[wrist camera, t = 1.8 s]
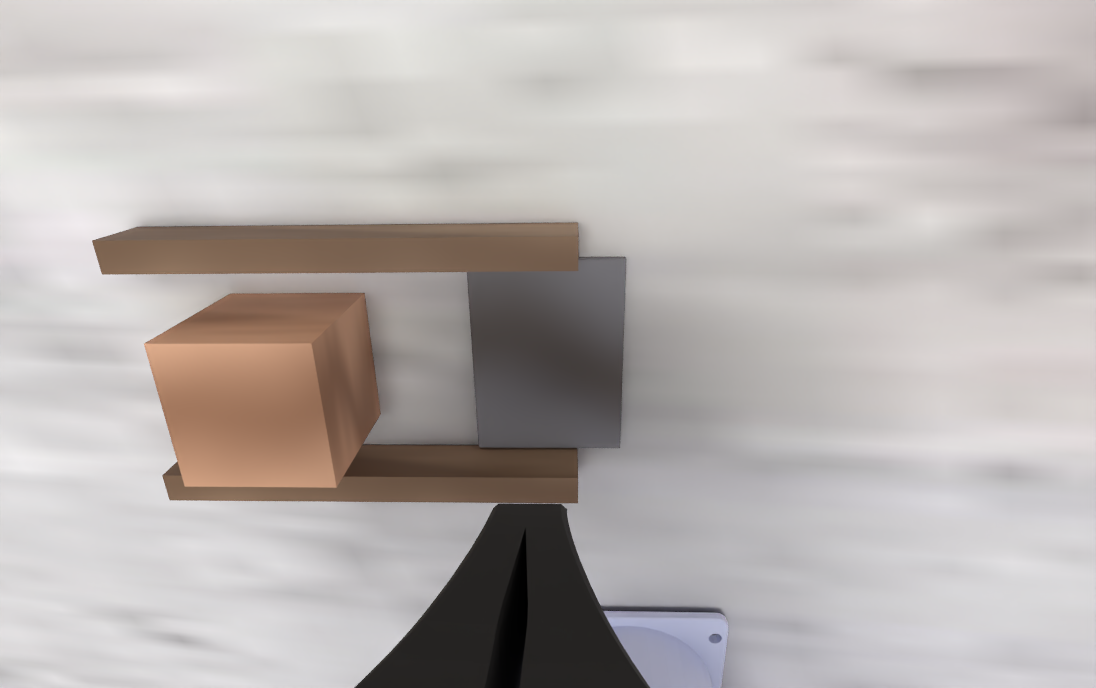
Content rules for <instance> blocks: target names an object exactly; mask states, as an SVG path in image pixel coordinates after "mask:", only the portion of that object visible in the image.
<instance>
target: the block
mask: <svg viewBox="0 0 1096 688" xmlns="http://www.w3.org/2000/svg"><path fill="white" fill-rule="evenodd" d="M144 345H145V349H146V352H147V356H148V359H149V363H150V367H151V370H152V374H153V377H154V381H155V384H156V388H157V391H158V395H159V398H160V402H161V405H162V409H163V412H164V416H165V419H166V423H167V426H168V430H169V433H170V437H171V440H172V444H173V447H174V451H175V454H176V458H177V461H178V465H179V468H180V472H181V475H182V479H183V482H184V486H185V487H320V488H337V486H338V484H339V483H340V481H341V479H342V478H343V476H344V474H345V473H346V471H347V469H348V468H349V466H350V464H351V463H352V461H353V459H354V458H355V456H356V454H357V453H358V451H359V449H360V448H361V446H362V444H363V443H364V441H365V439H366V438H367V436H368V434H369V433H370V431H371V429H372V428H373V426H374V424H375V423H376V421H377V419H378V418H379V416H380V414H381V413H380V405H379V398H378V390H377V383H376V376H375V368H374V361H373V353H372V346H371V338H370V331H369V323H368V316H367V309H366V301H365V294H364V293H269V294H229V295H227V296H225V297H224V298H222V299H220V300H219V301H217V302H215V303H213V304H212V305H210V306H208V307H207V308H205V309H203V310H201V311H200V312H198V313H196V314H194V315H193V316H191V317H189V318H188V319H186V320H184V321H182V322H181V323H179V324H177V325H176V326H174V327H172V328H170V329H169V330H167V331H165V332H163V333H162V334H160V335H158V336H157V337H155V338H153V339H151V340H150V341H148V342H146V343H145V344H144Z"/></svg>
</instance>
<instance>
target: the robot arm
mask: <svg viewBox="0 0 1096 688" xmlns="http://www.w3.org/2000/svg"><path fill="white" fill-rule="evenodd" d="M728 630H729V627H728V622H727V619H726V617H725V616H724V615H722V614H720V613H709V612H639V611H603V610H602V608H601V606H600V604H599V602H598V600H597V598H596V596H595V594H594V592H593V589H592V587H591V585H590V583H589V580H588V578H587V576H586V573H585V571H584V569H583V566H582V564H581V562H580V559H579V556H578V554H577V551H576V548H575V545H574V542H573V539H572V535H571V532H570V528H569V524H568V518H567V509H566V508H565V507H564V506H563V505H562V504H498V505H497V506H495V507H494V508H493V510H492V512H491V514H490V516H489V518H488V520H487V522H486V524H485V526H484V527H483V529H482V531H481V533H480V534H479V536H478V538H477V539H476V541H475V543H474V544H473V546H472V548H471V549H470V551H469V552H468V554H467V555H466V557H465V558H464V560H463V561H462V563H461V564H460V566H459V567H458V569H457V570H456V572H455V573H454V575H453V576H452V578H451V579H450V580H449V582H448V583H447V585H446V586H445V587H444V588H443V590H442V591H441V592H440V594H439V595H438V596H437V598H436V599H435V600H434V601H433V603H432V604H431V605H430V607H429V608H428V609H427V611H426V612H425V613H424V614H423V616H422V617H421V618H420V619H419V620H418V622H417V623H416V624H415V625H414V626H413V627H412V629H411V630H410V631H409V632H408V633H407V634H406V635H405V637H404V638H403V639H402V640H401V641H400V642H399V643H398V644H397V645H396V646H395V648H394V649H393V650H392V651H391V652H390V653H389V654H388V655H387V656H386V657H385V658H384V659H383V660H382V661H381V662H380V663H379V664H378V665H377V666H376V667H375V668H374V669H373V670H372V671H371V672H370V673H369V674H368V675H367V676H366V677H365V678H364V679H363V680H362V681H361V682H360V683H359V684H358V685H357V686H356V687H355V688H721V686H722V678H723V670H724V662H725V654H726V646H727V638H728ZM712 634H716V635H712Z"/></svg>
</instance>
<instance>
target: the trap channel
mask: <svg viewBox="0 0 1096 688" xmlns="http://www.w3.org/2000/svg"><path fill="white" fill-rule="evenodd" d="M92 242H93V245H94V249H95V252H96V255H97V259H98V262H99V265H100V269H101V272H102V274H228V273H375V272H467V280H468V294H469V309H470V324H471V338H472V353H473V368H474V382H475V397H476V412H477V426H478V441H479V445H362V446H361V448H360V449H359V451H358V453H357V454H356V456H355V458H354V459H353V461H352V463H351V464H350V466H349V468H348V469H347V471H346V473H345V474H344V476H343V478H342V479H341V481H340V483H339V484H338V486H337V488H320V487H185V486H184V482H183V479H182V475H181V472H180V468H179V465H178V462H176V463H175V464H174V465H173V466H172V467H171V468H170V469H169V470H168V471H167V472H166V473H165V474H164V475H162V476H163V479H164V483H165V486H166V489H167V493H168V496H169V499H170V500H210V501H343V502H475V503H578V458H577V448H620V430H621V399H622V368H623V337H624V306H625V275H626V258H625V257H578V223H491V224H389V225H287V226H185V227H136V228H133V229H129V230H126V231H123V232H119V233H116V234H113V235H109V236H106V237H103V238H99V239H96V240H93V241H92Z"/></svg>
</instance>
